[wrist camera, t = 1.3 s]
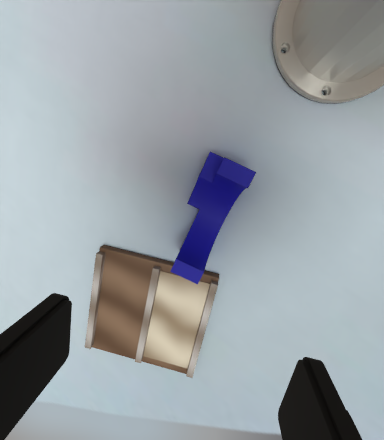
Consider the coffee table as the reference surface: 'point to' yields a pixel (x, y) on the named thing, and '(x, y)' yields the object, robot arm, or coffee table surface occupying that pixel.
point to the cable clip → (210, 212)
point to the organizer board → (148, 310)
